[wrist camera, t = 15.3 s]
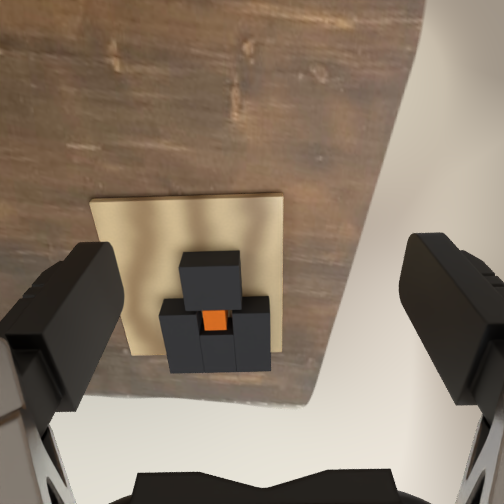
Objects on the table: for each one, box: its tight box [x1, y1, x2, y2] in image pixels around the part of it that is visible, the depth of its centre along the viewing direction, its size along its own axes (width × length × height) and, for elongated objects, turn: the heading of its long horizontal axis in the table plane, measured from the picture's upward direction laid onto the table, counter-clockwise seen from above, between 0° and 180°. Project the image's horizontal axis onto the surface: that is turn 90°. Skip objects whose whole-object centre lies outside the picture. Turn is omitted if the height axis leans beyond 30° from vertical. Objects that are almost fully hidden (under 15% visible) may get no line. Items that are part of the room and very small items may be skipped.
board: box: [89, 193, 283, 356], centre depth 42 cm, size 19×21×1 cm
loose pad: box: [178, 250, 242, 330], centre depth 40 cm, size 6×8×3 cm
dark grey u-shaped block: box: [158, 296, 271, 373], centre depth 44 cm, size 12×9×3 cm
